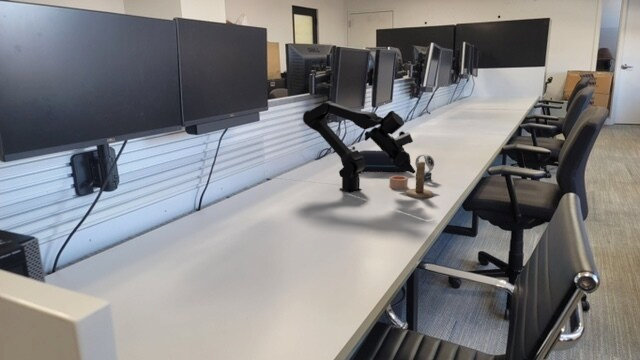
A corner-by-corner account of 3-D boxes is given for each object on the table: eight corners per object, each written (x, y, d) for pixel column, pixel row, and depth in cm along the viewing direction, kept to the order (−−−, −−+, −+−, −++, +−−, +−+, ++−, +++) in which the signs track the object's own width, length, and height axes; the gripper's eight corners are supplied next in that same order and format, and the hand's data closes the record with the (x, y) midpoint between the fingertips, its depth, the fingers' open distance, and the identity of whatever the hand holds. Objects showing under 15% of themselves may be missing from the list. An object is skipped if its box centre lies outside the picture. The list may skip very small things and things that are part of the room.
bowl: (398, 190, 178) (399, 181, 177) (386, 187, 183) (386, 177, 182) (410, 187, 182) (411, 178, 181) (397, 184, 188) (398, 174, 187)
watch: (428, 182, 189) (430, 157, 186) (412, 179, 194) (413, 154, 192) (435, 180, 193) (436, 155, 190) (418, 177, 198) (420, 152, 195)
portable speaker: (408, 169, 212) (409, 149, 209) (410, 175, 202) (411, 153, 199) (355, 169, 214) (355, 148, 211) (354, 174, 204) (355, 152, 202)
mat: (421, 201, 165) (421, 200, 165) (398, 194, 173) (398, 193, 173) (440, 195, 171) (440, 194, 171) (417, 189, 180) (417, 188, 180)
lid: (421, 199, 165) (422, 166, 162) (400, 193, 173) (401, 162, 170) (438, 194, 171) (440, 162, 168) (417, 189, 179) (419, 158, 176)
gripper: (403, 129, 156) (433, 160, 159) (397, 121, 174) (424, 149, 177) (380, 151, 159) (410, 181, 161) (376, 142, 177) (403, 169, 179)
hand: (412, 169), depth 169 cm, fingers open, 9 cm apart
